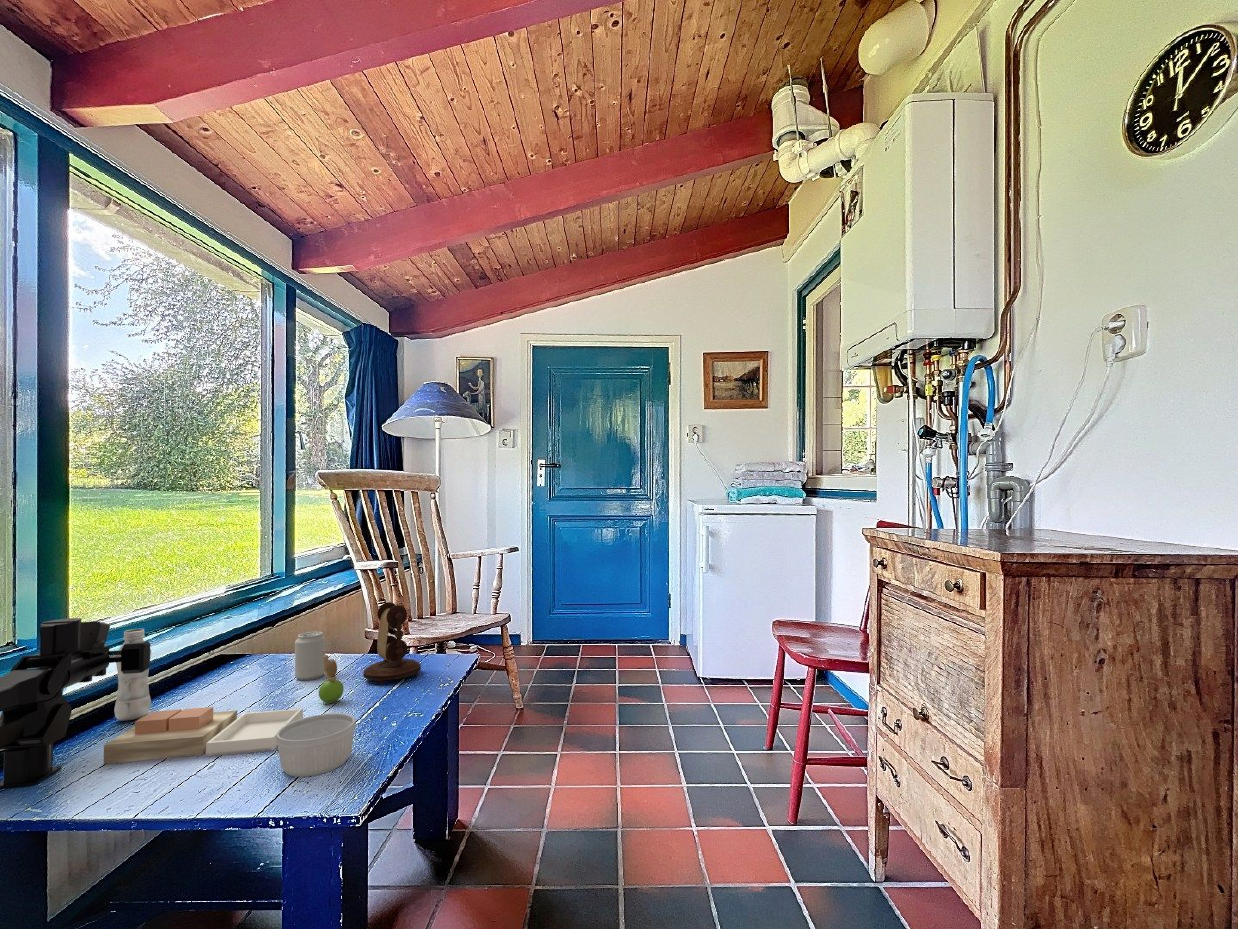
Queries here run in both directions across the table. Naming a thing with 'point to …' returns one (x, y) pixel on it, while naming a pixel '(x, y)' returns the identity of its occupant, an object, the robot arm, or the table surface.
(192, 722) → the tile
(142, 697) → the plastic bottle
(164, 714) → the tile
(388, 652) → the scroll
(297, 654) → the can
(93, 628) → the robot arm
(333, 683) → the green maraca
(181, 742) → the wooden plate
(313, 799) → the table surface
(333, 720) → the ramekin
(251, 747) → the tray
